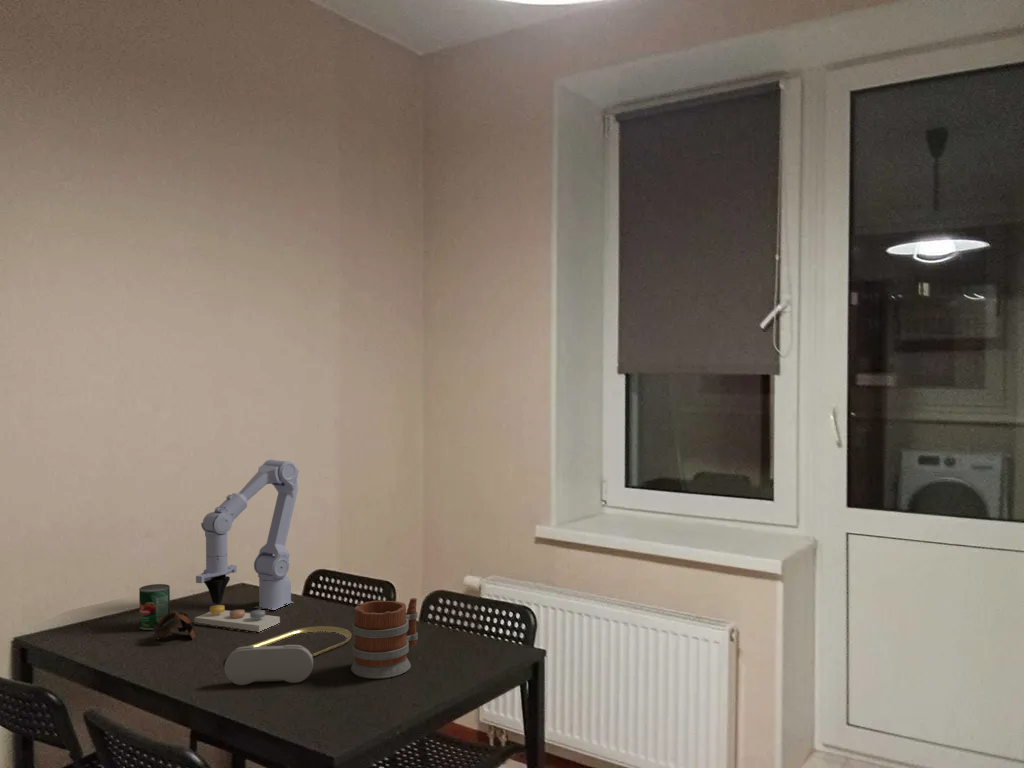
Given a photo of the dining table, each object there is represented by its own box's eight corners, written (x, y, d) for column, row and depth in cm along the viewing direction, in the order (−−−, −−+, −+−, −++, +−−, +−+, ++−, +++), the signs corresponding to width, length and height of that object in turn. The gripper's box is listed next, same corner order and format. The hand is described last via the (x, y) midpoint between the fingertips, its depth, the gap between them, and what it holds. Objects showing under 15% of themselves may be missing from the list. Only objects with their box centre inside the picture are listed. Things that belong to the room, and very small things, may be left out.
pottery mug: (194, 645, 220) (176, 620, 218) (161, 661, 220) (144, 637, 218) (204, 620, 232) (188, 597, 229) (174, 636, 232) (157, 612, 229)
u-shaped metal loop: (211, 665, 204) (211, 658, 204) (314, 628, 234) (314, 622, 234) (266, 679, 195) (265, 672, 195) (366, 638, 225) (366, 632, 225)
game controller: (313, 679, 194) (313, 643, 194) (312, 682, 192) (312, 646, 192) (226, 682, 192) (226, 646, 192) (224, 686, 190) (224, 649, 190)
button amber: (216, 608, 242) (216, 604, 242) (227, 609, 241) (227, 605, 241) (206, 612, 238) (206, 608, 238) (218, 613, 237) (217, 609, 237)
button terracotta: (236, 613, 239) (236, 608, 239) (247, 614, 238) (247, 610, 238) (226, 616, 236) (226, 612, 236) (238, 618, 234) (238, 614, 234)
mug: (338, 671, 198) (337, 608, 198) (395, 649, 214) (394, 590, 214) (381, 684, 190) (380, 617, 190) (437, 660, 206) (437, 599, 206)
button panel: (216, 616, 245) (216, 609, 245) (279, 623, 237) (279, 616, 237) (194, 624, 237) (194, 617, 237) (259, 632, 229) (259, 625, 229)
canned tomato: (175, 623, 238) (175, 584, 238) (161, 631, 231) (160, 591, 230) (148, 622, 239) (148, 583, 239) (133, 630, 231) (133, 590, 231)
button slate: (256, 613, 237) (256, 609, 237) (268, 614, 235) (268, 610, 235) (247, 617, 233) (247, 612, 233) (259, 618, 232) (258, 614, 232)
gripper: (222, 549, 248) (223, 595, 248) (187, 559, 234) (187, 608, 234) (242, 550, 245) (242, 597, 245) (207, 561, 231) (207, 610, 232)
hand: (217, 603), depth 239 cm, fingers closed
